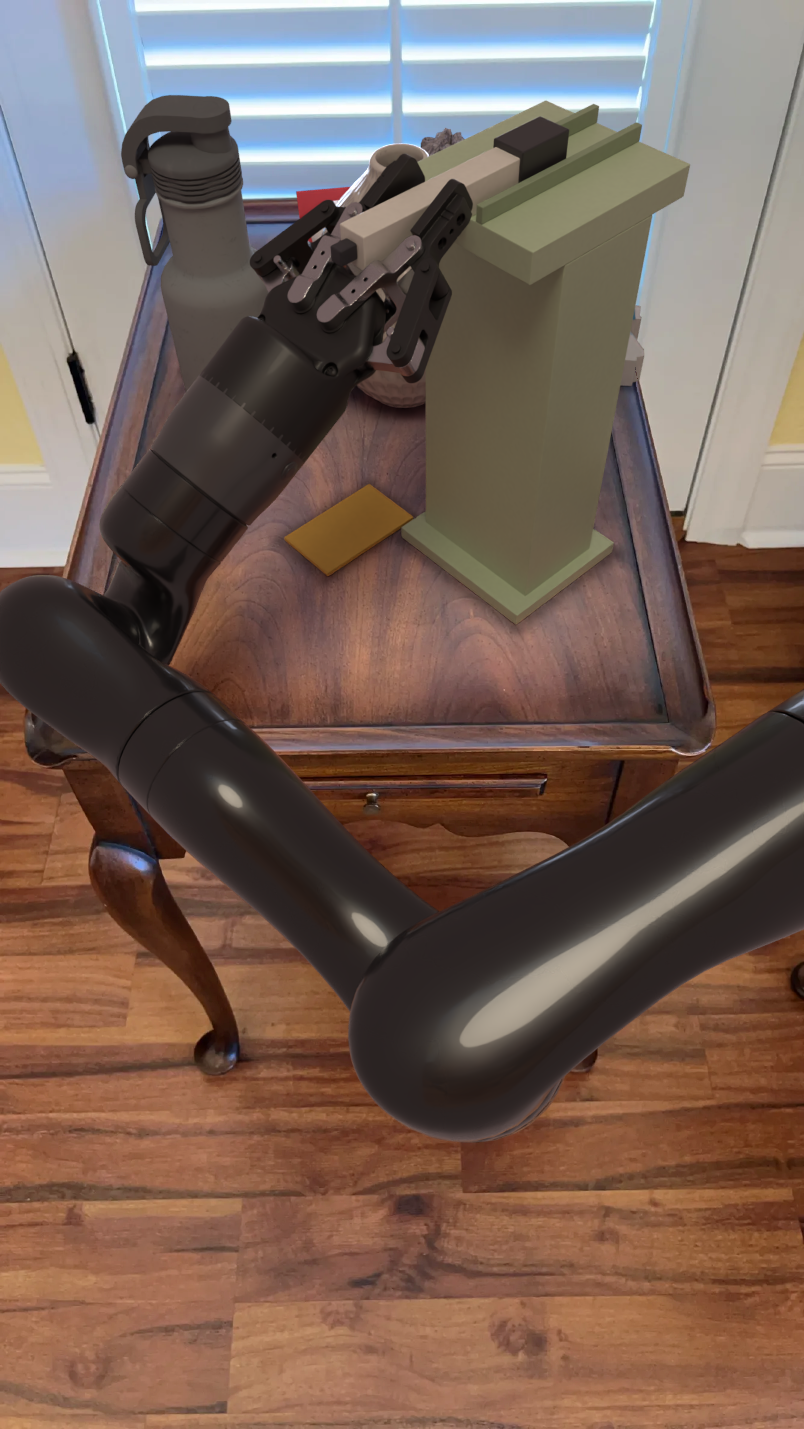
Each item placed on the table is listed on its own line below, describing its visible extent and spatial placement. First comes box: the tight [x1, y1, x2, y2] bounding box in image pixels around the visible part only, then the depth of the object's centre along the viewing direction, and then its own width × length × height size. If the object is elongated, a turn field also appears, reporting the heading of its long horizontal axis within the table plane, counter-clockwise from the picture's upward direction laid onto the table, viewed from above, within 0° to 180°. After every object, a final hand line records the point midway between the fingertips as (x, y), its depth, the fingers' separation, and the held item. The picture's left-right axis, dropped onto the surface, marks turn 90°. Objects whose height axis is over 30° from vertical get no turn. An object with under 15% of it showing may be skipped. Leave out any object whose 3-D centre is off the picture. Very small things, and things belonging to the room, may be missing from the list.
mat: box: [283, 483, 414, 577], centre depth 88 cm, size 10×6×1 cm, turn 132°
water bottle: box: [120, 94, 268, 393], centre depth 86 cm, size 10×10×28 cm
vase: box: [321, 142, 429, 409], centre depth 90 cm, size 16×16×22 cm
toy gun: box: [620, 304, 645, 387], centre depth 101 cm, size 3×14×10 cm
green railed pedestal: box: [400, 100, 691, 625], centre depth 73 cm, size 14×14×33 cm
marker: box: [330, 116, 569, 270], centre depth 56 cm, size 17×2×2 cm, turn 132°
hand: (438, 179), depth 55 cm, fingers open, 3 cm apart
